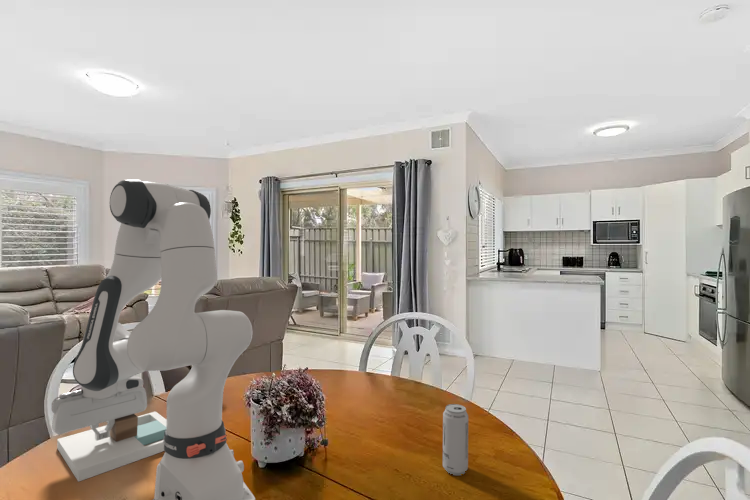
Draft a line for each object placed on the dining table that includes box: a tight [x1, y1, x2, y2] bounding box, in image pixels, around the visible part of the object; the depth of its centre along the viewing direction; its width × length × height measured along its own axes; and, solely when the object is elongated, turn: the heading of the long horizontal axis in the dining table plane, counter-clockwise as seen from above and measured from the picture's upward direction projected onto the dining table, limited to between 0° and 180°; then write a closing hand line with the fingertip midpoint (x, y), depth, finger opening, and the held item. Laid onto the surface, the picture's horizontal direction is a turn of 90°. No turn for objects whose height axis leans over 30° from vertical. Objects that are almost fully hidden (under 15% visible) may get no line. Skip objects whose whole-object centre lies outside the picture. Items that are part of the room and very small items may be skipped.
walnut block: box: [110, 413, 138, 442], centre depth 106 cm, size 5×5×5 cm
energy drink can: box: [442, 403, 469, 476], centre depth 96 cm, size 6×6×15 cm
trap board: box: [56, 411, 167, 482], centre depth 106 cm, size 22×24×2 cm
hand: (102, 438), depth 102 cm, fingers closed
